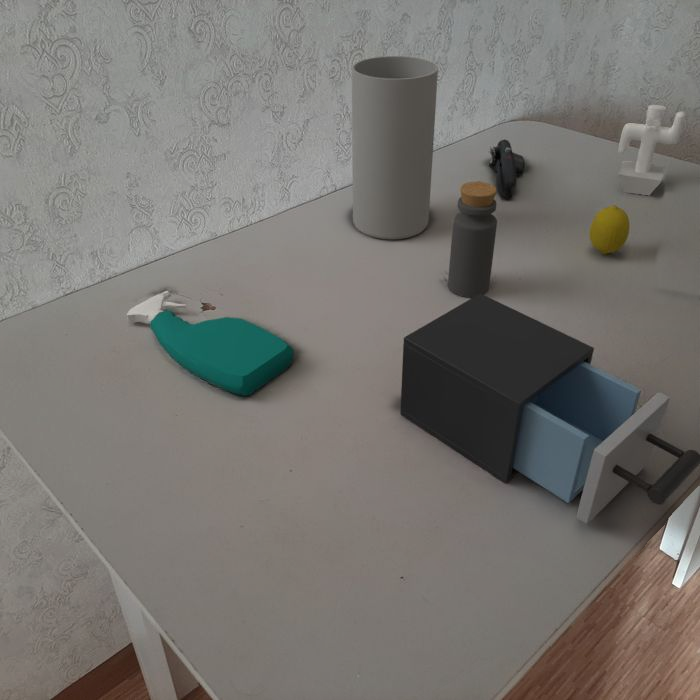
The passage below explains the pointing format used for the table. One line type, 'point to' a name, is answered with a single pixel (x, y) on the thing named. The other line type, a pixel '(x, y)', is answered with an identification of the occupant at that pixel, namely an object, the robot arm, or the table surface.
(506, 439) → the drawer cabinet
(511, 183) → the can opener
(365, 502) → the table surface
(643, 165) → the figurine
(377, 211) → the cylinder vase
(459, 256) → the bottle
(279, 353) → the spray bottle
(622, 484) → the compartment
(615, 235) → the lemon
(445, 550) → the table surface
